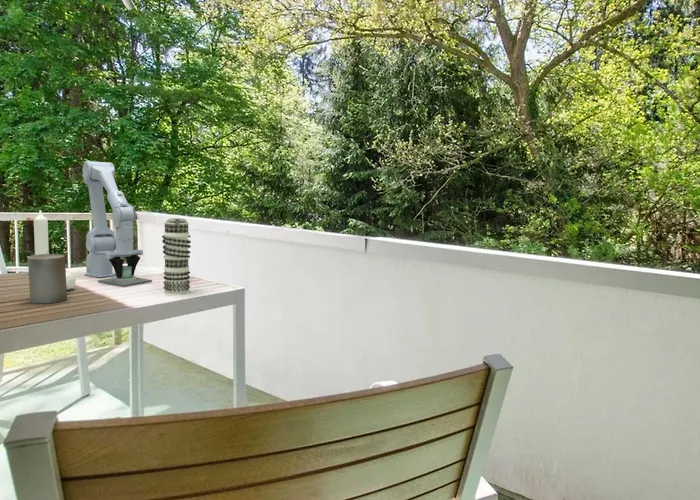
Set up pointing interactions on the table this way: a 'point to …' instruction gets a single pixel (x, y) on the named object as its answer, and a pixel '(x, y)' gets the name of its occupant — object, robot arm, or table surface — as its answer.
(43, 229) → the candle
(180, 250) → the decorative candle
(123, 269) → the cup
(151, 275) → the table surface
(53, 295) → the pillar candle
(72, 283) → the lightbulb
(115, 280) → the socket board
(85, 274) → the robot arm
